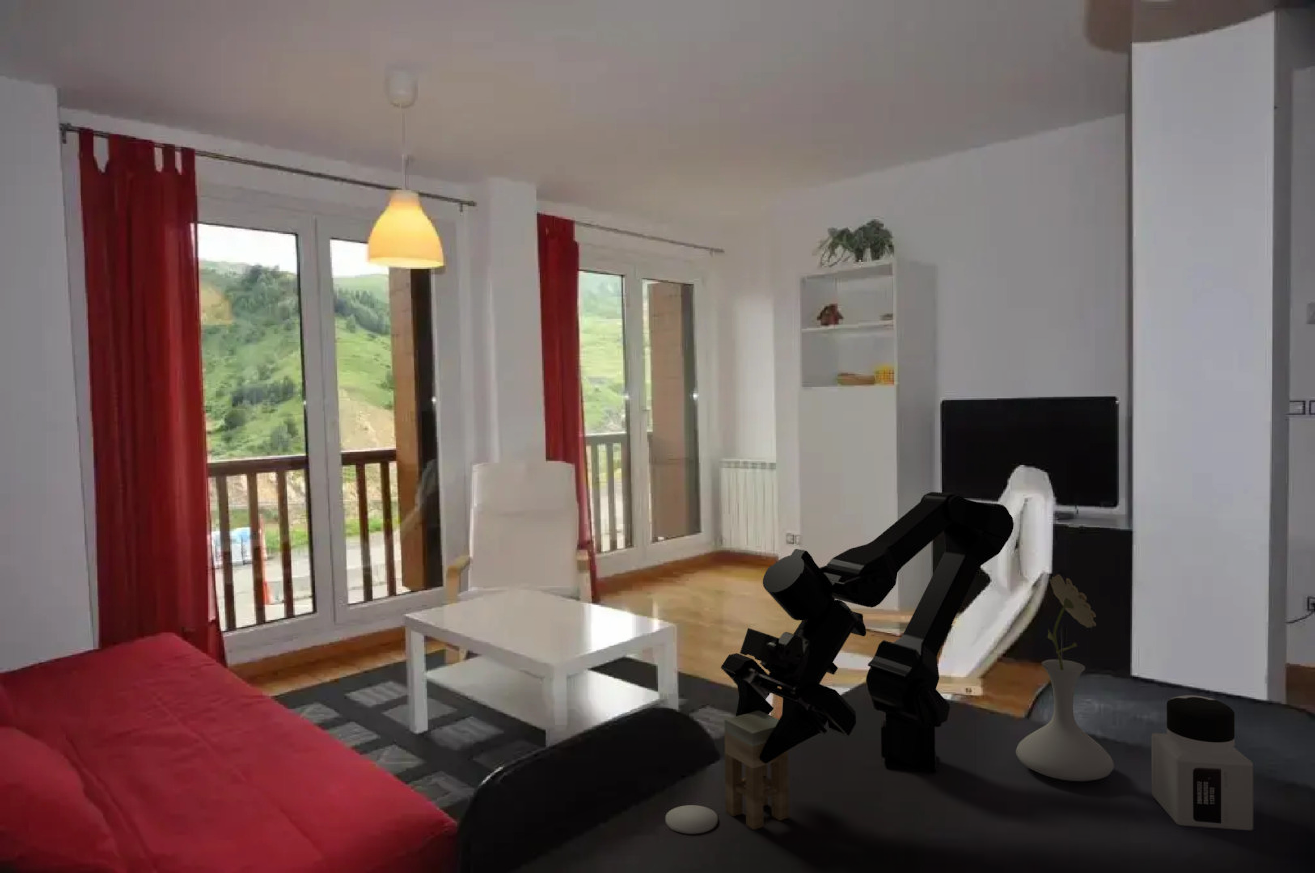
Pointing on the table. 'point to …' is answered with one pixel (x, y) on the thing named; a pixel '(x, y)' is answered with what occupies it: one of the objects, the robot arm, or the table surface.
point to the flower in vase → (1065, 710)
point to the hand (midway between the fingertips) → (746, 752)
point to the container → (1202, 766)
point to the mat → (691, 819)
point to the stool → (754, 769)
